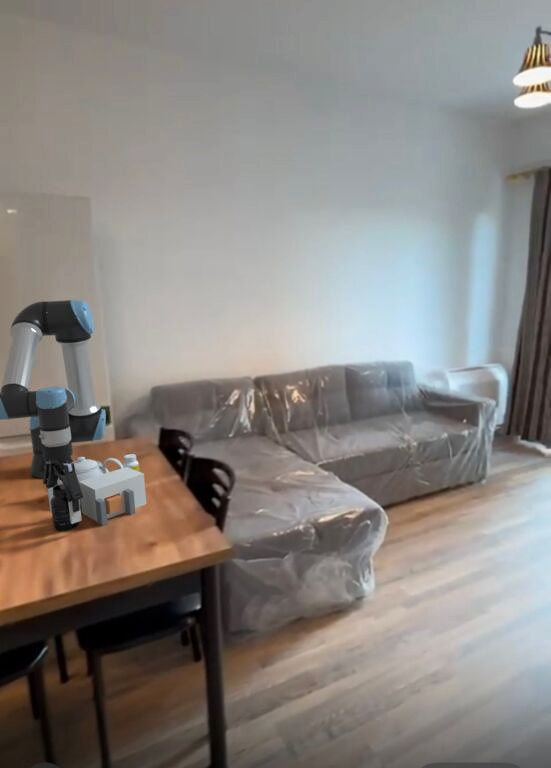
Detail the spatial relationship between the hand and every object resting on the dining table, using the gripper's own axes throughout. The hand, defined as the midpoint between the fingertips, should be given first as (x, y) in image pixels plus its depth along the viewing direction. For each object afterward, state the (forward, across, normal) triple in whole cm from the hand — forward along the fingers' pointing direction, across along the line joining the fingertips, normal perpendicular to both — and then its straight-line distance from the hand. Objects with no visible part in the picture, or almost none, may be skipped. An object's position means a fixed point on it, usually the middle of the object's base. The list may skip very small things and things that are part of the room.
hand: (65, 515), depth 138 cm
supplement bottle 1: (+4, 0, 0) cm, 4 cm away
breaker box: (+3, +1, +15) cm, 15 cm away
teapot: (+4, -16, +14) cm, 22 cm away
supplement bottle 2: (+3, -15, +30) cm, 34 cm away
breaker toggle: (+1, +3, +12) cm, 13 cm away
